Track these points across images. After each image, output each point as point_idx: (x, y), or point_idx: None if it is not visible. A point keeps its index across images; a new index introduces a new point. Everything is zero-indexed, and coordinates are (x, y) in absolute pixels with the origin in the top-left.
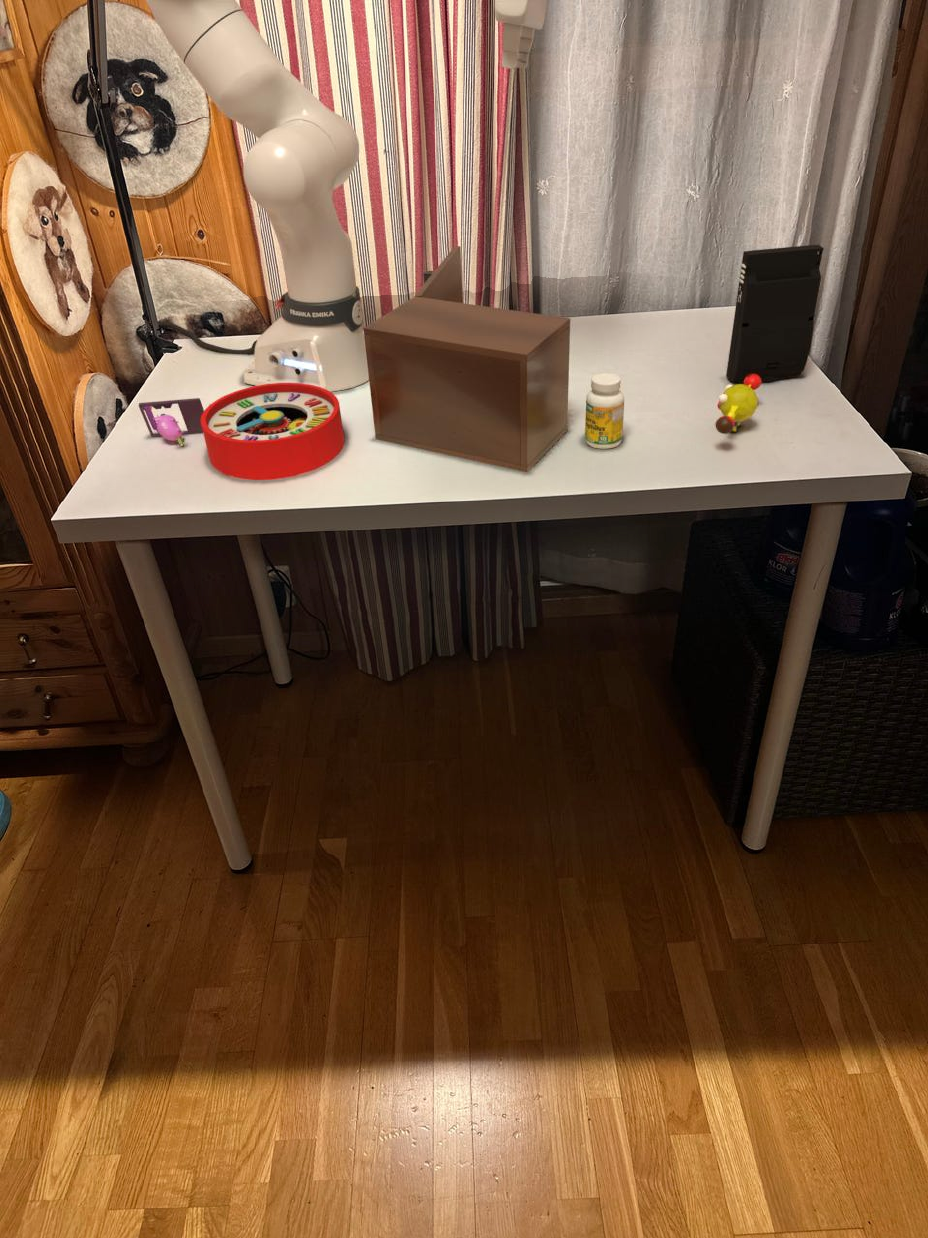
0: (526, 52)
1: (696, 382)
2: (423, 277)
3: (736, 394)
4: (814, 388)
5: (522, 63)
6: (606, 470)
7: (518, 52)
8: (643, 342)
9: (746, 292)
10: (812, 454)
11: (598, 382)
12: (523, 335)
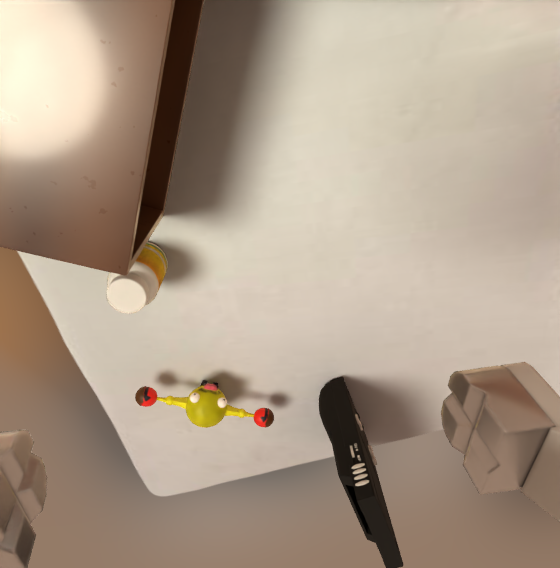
0: (524, 484)
1: (328, 346)
2: None
3: (191, 413)
4: (321, 449)
5: (451, 427)
6: (75, 272)
7: (494, 451)
8: (459, 279)
9: (337, 465)
10: (169, 445)
11: (111, 288)
12: (24, 214)
